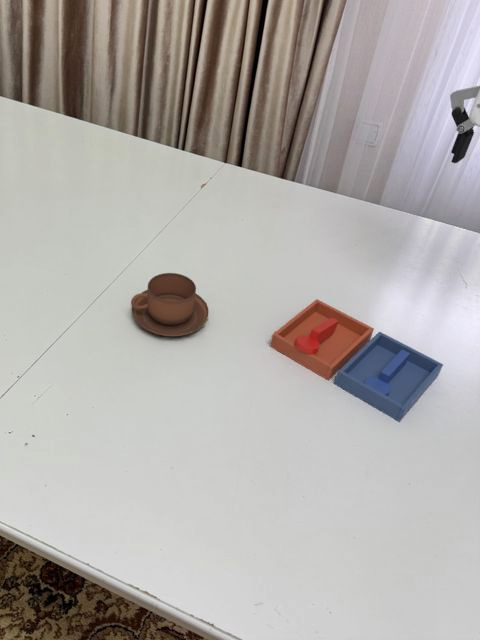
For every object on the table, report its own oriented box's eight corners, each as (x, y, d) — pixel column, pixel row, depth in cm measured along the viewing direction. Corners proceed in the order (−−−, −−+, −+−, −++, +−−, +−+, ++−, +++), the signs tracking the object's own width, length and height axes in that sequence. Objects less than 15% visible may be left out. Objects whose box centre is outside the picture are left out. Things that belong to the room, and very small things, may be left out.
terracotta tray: (369, 340, 97) (374, 328, 96) (328, 380, 90) (332, 368, 88) (313, 310, 102) (316, 298, 100) (269, 346, 95) (272, 334, 93)
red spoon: (310, 356, 89) (316, 343, 88) (289, 345, 91) (295, 331, 90) (340, 337, 97) (345, 324, 95) (320, 326, 98) (325, 313, 97)
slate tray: (437, 376, 92) (443, 364, 90) (399, 422, 85) (405, 409, 83) (374, 343, 97) (379, 331, 95) (333, 383, 90) (337, 371, 88)
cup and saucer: (156, 352, 92) (158, 320, 88) (118, 308, 99) (118, 276, 95) (222, 328, 97) (226, 297, 93) (181, 287, 104) (183, 257, 100)
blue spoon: (381, 403, 86) (386, 391, 85) (358, 390, 88) (362, 378, 86) (412, 368, 92) (417, 357, 91) (390, 357, 94) (395, 345, 92)
